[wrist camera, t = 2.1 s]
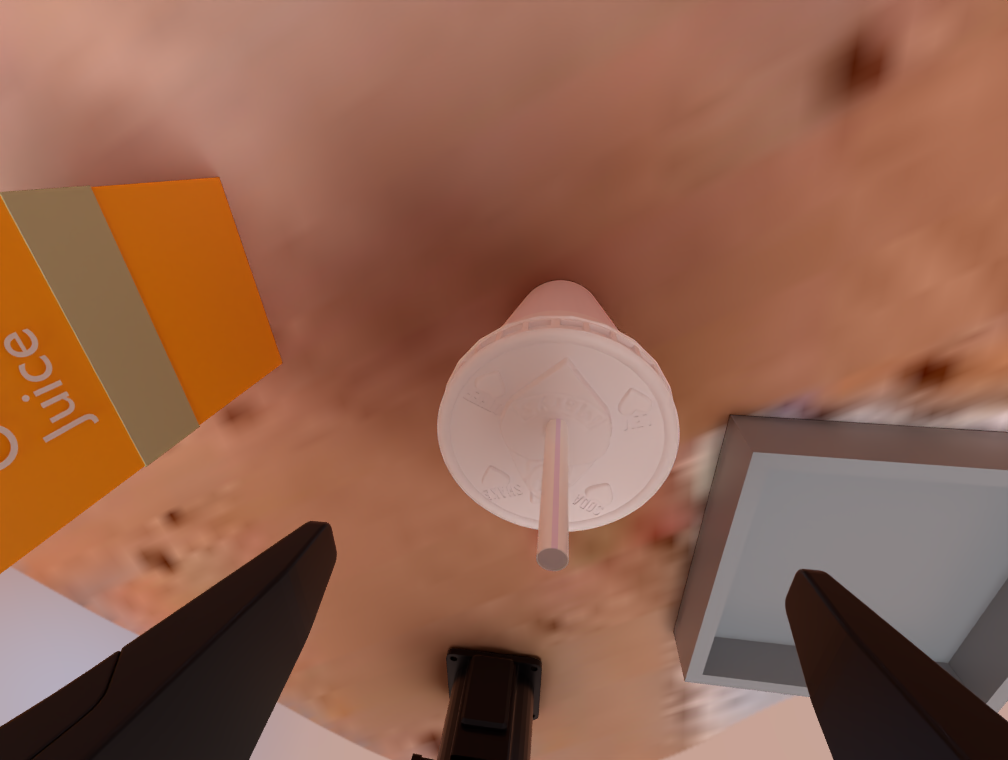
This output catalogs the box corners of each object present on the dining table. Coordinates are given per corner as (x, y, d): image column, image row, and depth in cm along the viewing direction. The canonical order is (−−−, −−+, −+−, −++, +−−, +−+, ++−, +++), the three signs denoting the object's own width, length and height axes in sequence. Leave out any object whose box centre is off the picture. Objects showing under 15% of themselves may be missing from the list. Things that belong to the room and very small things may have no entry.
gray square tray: (949, 663, 27) (991, 719, 24) (673, 631, 29) (684, 681, 26) (1106, 438, 20) (1190, 483, 17) (730, 414, 22) (753, 452, 19)
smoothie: (648, 256, 19) (804, 461, 6) (617, 393, 22) (685, 716, 9) (493, 239, 19) (362, 401, 7) (483, 376, 22) (379, 662, 10)
